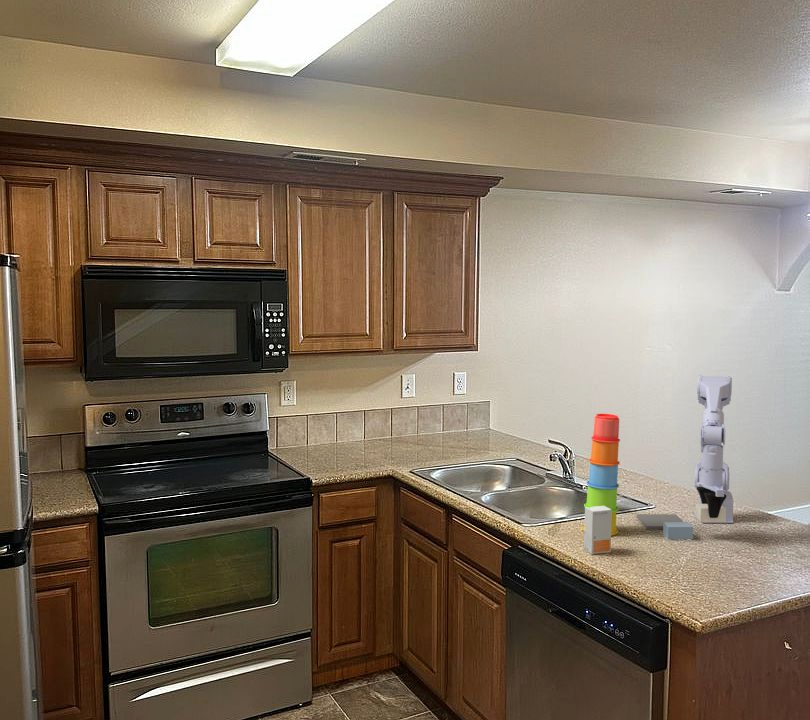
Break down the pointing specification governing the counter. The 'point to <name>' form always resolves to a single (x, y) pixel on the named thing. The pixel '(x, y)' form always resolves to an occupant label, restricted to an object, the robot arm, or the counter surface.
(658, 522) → the baseplate
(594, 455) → the stacking cups
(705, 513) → the cream brick
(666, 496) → the counter surface
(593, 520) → the skincare box
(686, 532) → the blue brick
